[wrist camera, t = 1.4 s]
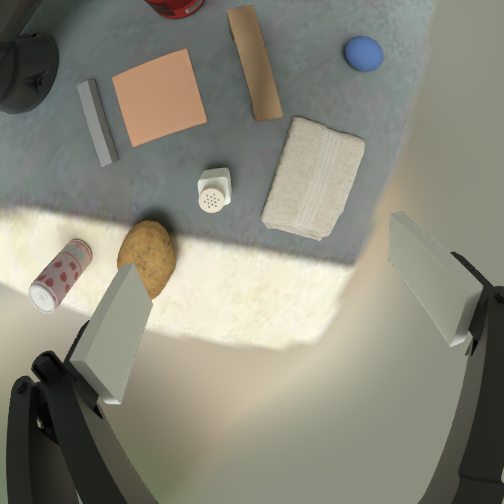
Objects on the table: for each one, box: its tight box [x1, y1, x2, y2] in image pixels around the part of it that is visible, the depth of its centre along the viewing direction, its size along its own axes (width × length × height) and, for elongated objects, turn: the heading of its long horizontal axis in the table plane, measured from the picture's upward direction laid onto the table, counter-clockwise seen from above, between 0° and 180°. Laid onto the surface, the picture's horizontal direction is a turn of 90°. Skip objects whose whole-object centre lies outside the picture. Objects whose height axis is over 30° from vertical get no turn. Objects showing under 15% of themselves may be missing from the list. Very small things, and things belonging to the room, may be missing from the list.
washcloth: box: [261, 116, 365, 241], centre depth 42 cm, size 12×18×3 cm, turn 165°
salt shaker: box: [198, 167, 232, 213], centre depth 39 cm, size 4×4×10 cm
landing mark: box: [112, 48, 208, 147], centre depth 36 cm, size 12×12×1 cm
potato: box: [117, 220, 176, 300], centre depth 44 cm, size 10×14×8 cm
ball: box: [345, 36, 383, 71], centre depth 31 cm, size 6×6×6 cm
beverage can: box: [29, 239, 92, 313], centre depth 41 cm, size 6×6×15 cm
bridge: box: [226, 5, 283, 122], centre depth 31 cm, size 3×14×9 cm, turn 13°
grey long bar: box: [77, 80, 119, 167], centre depth 36 cm, size 14×2×2 cm, turn 14°
